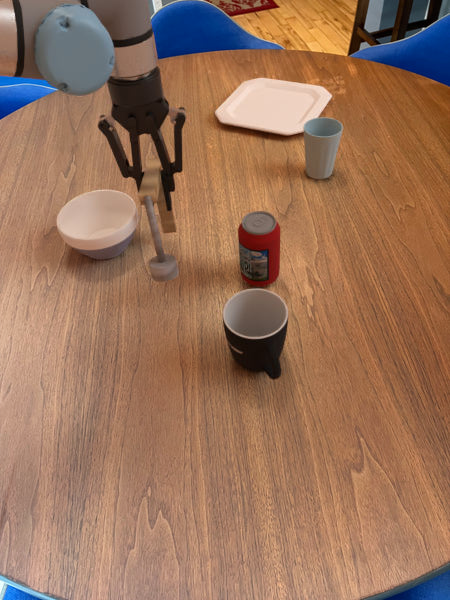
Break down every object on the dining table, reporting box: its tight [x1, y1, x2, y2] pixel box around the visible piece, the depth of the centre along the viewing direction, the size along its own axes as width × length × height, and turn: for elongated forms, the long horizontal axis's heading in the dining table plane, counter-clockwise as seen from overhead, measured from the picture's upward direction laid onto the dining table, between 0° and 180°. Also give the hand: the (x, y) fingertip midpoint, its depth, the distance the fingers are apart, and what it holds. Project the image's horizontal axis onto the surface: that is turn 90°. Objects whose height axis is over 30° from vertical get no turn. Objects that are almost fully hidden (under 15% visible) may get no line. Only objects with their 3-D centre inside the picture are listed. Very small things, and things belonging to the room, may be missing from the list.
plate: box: [214, 77, 333, 136], centre depth 120 cm, size 25×25×2 cm
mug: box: [222, 288, 289, 380], centre depth 68 cm, size 12×9×10 cm
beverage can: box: [237, 210, 281, 287], centre depth 79 cm, size 7×7×12 cm
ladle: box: [137, 157, 180, 283], centre depth 78 cm, size 18×4×14 cm, turn 4°
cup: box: [303, 116, 344, 180], centre depth 98 cm, size 8×8×10 cm
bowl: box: [55, 189, 139, 261], centre depth 89 cm, size 14×14×8 cm
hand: (160, 206), depth 83 cm, fingers closed on ladle, 2 cm apart
